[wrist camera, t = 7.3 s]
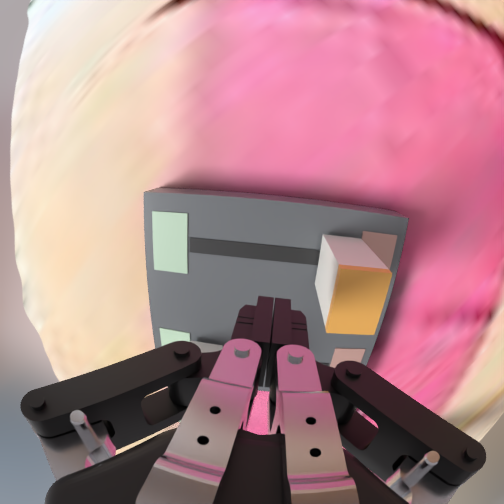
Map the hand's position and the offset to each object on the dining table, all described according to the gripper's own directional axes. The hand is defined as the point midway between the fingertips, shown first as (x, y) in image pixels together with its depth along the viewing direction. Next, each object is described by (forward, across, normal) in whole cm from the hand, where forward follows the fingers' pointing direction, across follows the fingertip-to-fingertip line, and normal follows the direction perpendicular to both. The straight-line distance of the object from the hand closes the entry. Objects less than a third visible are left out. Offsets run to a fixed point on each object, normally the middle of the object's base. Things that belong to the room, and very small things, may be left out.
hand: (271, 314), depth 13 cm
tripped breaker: (+9, -5, 0) cm, 10 cm away
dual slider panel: (+12, 0, +6) cm, 13 cm away
